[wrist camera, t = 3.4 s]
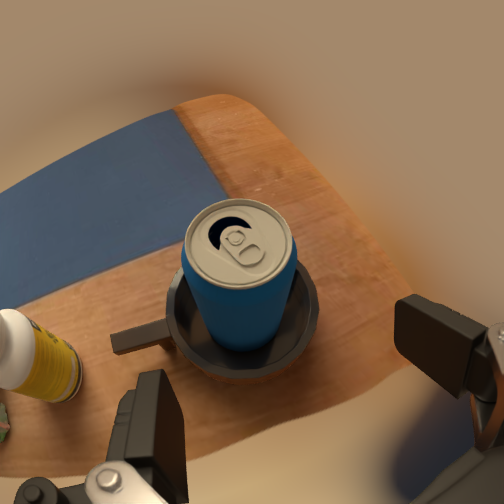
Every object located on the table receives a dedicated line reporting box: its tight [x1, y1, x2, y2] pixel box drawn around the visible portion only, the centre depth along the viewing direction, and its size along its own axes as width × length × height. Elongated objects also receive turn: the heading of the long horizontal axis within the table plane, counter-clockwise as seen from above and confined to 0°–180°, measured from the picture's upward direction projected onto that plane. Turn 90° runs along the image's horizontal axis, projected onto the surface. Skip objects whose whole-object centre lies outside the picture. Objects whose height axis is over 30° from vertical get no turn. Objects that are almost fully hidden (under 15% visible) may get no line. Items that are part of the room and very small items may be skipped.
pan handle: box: [110, 318, 176, 355], centre depth 22 cm, size 5×2×4 cm, turn 111°
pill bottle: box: [0, 309, 82, 403], centre depth 17 cm, size 6×6×12 cm
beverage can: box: [181, 199, 297, 352], centre depth 20 cm, size 6×6×12 cm
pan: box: [166, 260, 319, 385], centre depth 24 cm, size 12×12×4 cm
